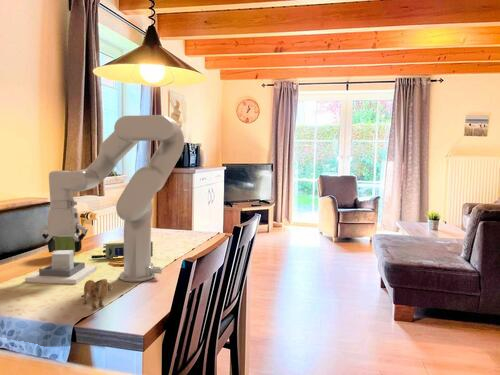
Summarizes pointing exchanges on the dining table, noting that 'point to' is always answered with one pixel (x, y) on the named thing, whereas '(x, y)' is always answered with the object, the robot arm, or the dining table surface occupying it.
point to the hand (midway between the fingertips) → (65, 251)
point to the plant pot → (64, 243)
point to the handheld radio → (115, 250)
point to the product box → (63, 260)
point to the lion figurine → (96, 291)
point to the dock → (62, 274)
